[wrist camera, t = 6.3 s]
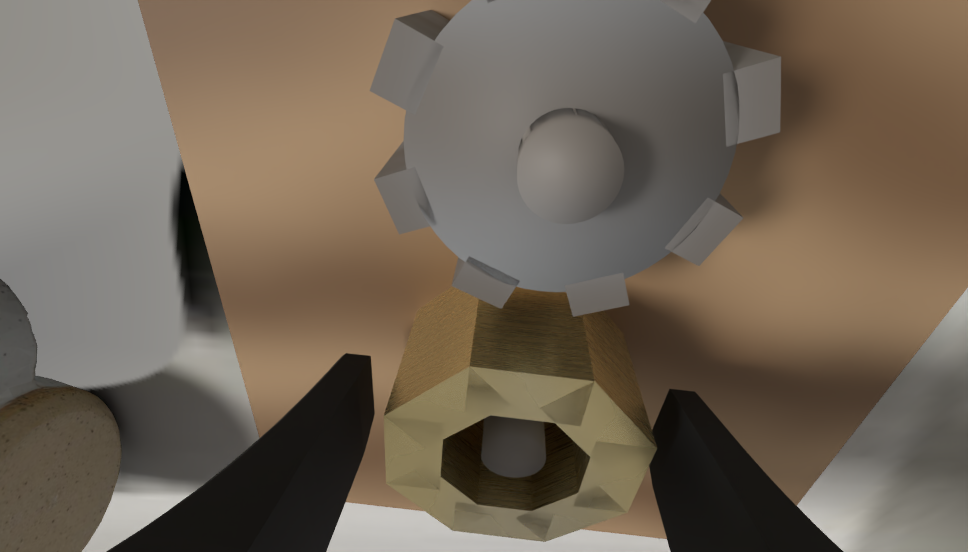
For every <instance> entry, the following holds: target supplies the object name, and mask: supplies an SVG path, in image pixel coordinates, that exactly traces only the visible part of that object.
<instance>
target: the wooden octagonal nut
mask: <svg viewBox="0 0 968 552" xmlns="http://www.w3.org/2000/svg"><path fill="white" fill-rule="evenodd" d="M490 415H492V416H500V417H509V418H517V419H525V420H534V421H542V422H544V428H545V448H546V462H545V464H544V466H543V467H542V469H541V470H539V471H538V472H536V473H535V474H532V475H530V476H526V477H519V478H512V477H505V476H501V475H498V474H496V473H494V472H492V471H490V470H489V469H488V468H487V467H486V466H485V465H484V464H483V462H482V459H481V450H482V439H483V427H484V418H486V417H488V416H490ZM384 440H385V466H386V484H387V485H389V486H390V487H392V488H393V489H394V490H396V491H397V492H399V493H400V494H402V495H403V496H404V497H406V498H407V499H409V500H410V501H411V502H413V503H414V504H416V505H417V506H419V507H420V508H421V509H423V510H424V511H426V512H427V513H428V514H430V515H431V516H433V517H434V518H436V519H437V520H438V521H440V522H441V523H443V524H444V525H445V526H447V527H448V528H450V529H451V530H453V531H461V532H469V533H477V534H485V535H494V536H502V537H510V538H518V539H527V540H535V541H543V542H546V541H548V540H551V539H554V538H557V537H560V536H563V535H565V534H568V533H571V532H574V531H577V530H580V529H583V528H585V527H588V526H591V525H594V524H597V523H600V522H602V521H605V520H608V519H611V518H614V517H617V516H620V515H622V514H625V513H628V510H629V508H630V506H631V504H632V502H633V500H634V497H635V495H636V493H637V491H638V489H639V487H640V484H641V482H642V480H643V478H644V476H645V474H646V471H647V469H648V467H649V465H650V463H651V461H652V459H653V456H654V454H655V452H656V450H657V446H656V443H655V439H654V436H653V433H652V429H651V426H650V422H649V419H648V416H647V412H646V409H645V405H644V402H643V399H642V395H641V392H640V388H639V385H638V381H637V378H636V375H635V371H634V368H633V364H632V361H631V358H630V354H629V351H628V347H627V344H626V341H625V337H624V334H623V333H622V332H621V330H620V329H619V328H618V327H617V326H616V324H615V323H614V322H613V321H612V320H611V318H610V317H609V316H608V315H607V314H606V313H605V311H604V310H603V311H599V312H594V313H589V314H584V315H579V316H574V317H573V315H572V311H571V308H570V304H569V300H568V297H567V293H566V292H545V291H536V290H530V289H524V288H520V287H516V288H515V289H514V291H513V292H512V294H511V295H510V297H509V298H508V300H507V301H506V303H505V304H504V306H503V307H502V309H500V308H498V307H496V306H494V305H491V304H489V303H487V302H485V301H483V300H481V299H478V298H476V297H474V296H472V295H470V294H468V293H465V292H463V291H461V290H459V289H457V288H455V287H451V288H450V289H448V290H447V291H445V292H444V293H442V294H441V295H439V296H438V297H436V298H435V299H433V300H432V301H430V302H429V303H428V304H426V305H425V306H423V307H422V308H420V309H419V310H418V311H417V314H416V317H415V320H414V323H413V326H412V329H411V332H410V335H409V339H408V342H407V345H406V348H405V351H404V354H403V357H402V360H401V363H400V366H399V370H398V373H397V376H396V379H395V382H394V385H393V388H392V391H391V394H390V397H389V401H388V404H387V407H386V410H385V413H384Z"/></svg>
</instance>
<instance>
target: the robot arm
mask: <svg viewBox="0 0 968 552" xmlns="http://www.w3.org/2000/svg"><path fill="white" fill-rule="evenodd" d="M374 415H375V409H374V395H373V380H372V365H371V356H368V355H359V354H349V353H346V354H344V355H343V356H341V358H340V359H339V360H338V361H337V362H336V363H335V364H334V365H333V366H332V367H331V368H330V370H329V371H328V372H327V373H326V374H325V375H324V376H323V377H322V378H321V379H320V380H319V381H318V382H317V383H316V384H315V385H314V386H313V388H312V389H311V390H310V391H309V392H308V393H307V394H306V395H305V396H304V397H303V398H302V399H301V400H300V401H299V402H298V403H297V404H296V405H295V406H294V407H293V408H292V409H291V410H289V411H288V412H287V413H286V414H285V415H284V416H283V417H282V418H281V419H280V420H279V421H278V422H277V423H276V424H275V425H274V426H273V427H272V428H271V429H269V430H268V431H267V432H266V433H265V434H264V435H263V436H262V437H260V438H259V439H258V440H257V441H256V442H255V443H254V444H253V445H252V446H250V447H249V448H248V449H247V450H246V451H245V452H244V453H242V454H241V455H240V456H239V457H238V458H236V459H235V460H234V461H233V462H232V463H230V464H229V465H228V466H227V467H226V468H224V469H223V470H222V471H221V472H219V473H218V474H217V475H216V476H214V477H213V478H212V479H210V480H209V481H208V482H207V483H205V484H204V485H203V486H201V487H200V488H199V489H197V490H196V491H195V492H193V493H192V494H191V495H189V496H188V497H186V498H185V499H184V500H182V501H181V502H180V503H178V504H177V505H175V506H174V507H173V508H171V509H170V510H169V511H167V512H166V513H164V514H163V515H162V516H160V517H159V518H157V519H156V520H154V521H153V522H151V523H150V524H149V525H147V526H146V527H144V528H143V529H141V530H140V531H138V532H137V533H135V534H133V535H132V536H130V537H129V538H127V539H126V540H124V541H122V542H121V543H119V544H118V545H116V546H115V547H113V548H111V549H110V550H108V551H107V552H326V551H327V548H328V545H329V542H330V540H331V537H332V535H333V532H334V530H335V527H336V525H337V522H338V520H339V517H340V515H341V512H342V509H343V507H344V504H345V502H346V499H347V497H348V494H349V492H350V489H351V487H352V484H353V481H354V479H355V476H356V474H357V471H358V469H359V466H360V463H361V461H362V458H363V455H364V452H365V449H366V445H367V442H368V438H369V434H370V430H371V427H372V423H373V419H374ZM652 433H653V436H654V439H655V443H656V446H657V450H656V452H655V454H654V456H653V459H652V461H651V463H650V465H649V468H650V474H651V480H652V486H653V490H654V494H655V498H656V501H657V505H658V508H659V512H660V516H661V519H662V523H663V526H664V530H665V533H666V537H667V540H668V544H669V547H670V551H671V552H843V551H842V550H841V549H840V548H839V547H838V546H837V545H836V544H835V543H833V542H832V541H831V540H830V539H829V538H828V537H827V536H826V535H825V534H824V533H823V532H822V531H821V530H820V529H819V528H818V527H817V526H816V525H815V524H814V523H813V522H812V521H811V520H810V519H809V518H808V517H807V516H806V515H805V514H804V513H803V512H802V511H801V510H800V509H799V508H798V507H797V506H796V505H795V504H794V503H793V502H792V501H791V500H790V499H789V498H788V497H787V496H786V495H785V493H784V492H783V491H782V490H781V489H780V488H779V487H778V486H777V485H776V484H775V483H774V482H773V481H772V479H771V478H770V477H769V476H768V475H767V474H766V473H765V472H764V471H763V470H762V468H761V467H760V466H759V465H758V464H757V463H756V462H755V461H754V459H753V458H752V457H751V456H750V455H749V454H748V453H747V451H746V450H745V449H744V448H743V447H742V446H741V445H740V443H739V442H738V441H737V440H736V439H735V438H734V436H733V435H732V434H731V433H730V432H729V431H728V429H727V428H726V427H725V426H724V425H723V423H722V422H721V421H720V420H719V419H718V418H717V416H716V415H715V414H714V413H713V412H712V410H711V409H710V408H709V407H708V406H707V405H706V403H705V402H704V401H703V400H702V399H701V398H700V397H699V395H698V394H697V393H696V392H695V391H686V390H677V389H669V391H668V393H667V396H666V398H665V400H664V403H663V405H662V408H661V410H660V412H659V415H658V417H657V419H656V422H655V424H654V427H653V429H652Z"/></svg>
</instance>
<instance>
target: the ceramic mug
mask: <svg viewBox="0 0 968 552" xmlns="http://www.w3.org/2000/svg"><path fill="white" fill-rule="evenodd" d="M27 314H28V313H27V311H26V310H25V308H24V306H23V305H22V303H21V302H20V301H19V299H18V298H17V296H16V295H15V294H14V293H13V291H12V290H11V289H10V287H9V286H8V285H6V284H5V282H3V281H2V280H1V279H0V552H82V550H83V549H84V548H85V546H86V545H87V543H88V542H89V540H90V539H91V537H92V536H93V534H94V532H95V531H96V529H97V527H98V526H99V524H100V522H101V521H102V518H103V516H104V514H105V512H106V510H107V507H108V505H109V503H110V501H111V498H112V495H113V491H114V488H115V485H116V482H117V479H118V475H119V469H120V463H121V452H122V449H121V442H120V434H119V428H118V426H117V423H116V421H115V418H114V416H113V414H112V412H111V411H110V410H109V408H108V407H107V406H106V405H105V403H104V402H103V401H102V400H101V399H100V398H99V397H97V396H96V395H94V394H92V393H90V392H88V391H85V390H82V389H79V388H76V387H73V386H70V385H67V384H64V383H61V382H59V381H55V380H52V379H48V378H44V377H39V376H35V367H36V362H37V343H36V340H35V337H34V334H33V332H32V329H31V324H30V321H29V319H28V317H27Z"/></svg>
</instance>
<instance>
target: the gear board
mask: <svg viewBox="0 0 968 552" xmlns="http://www.w3.org/2000/svg"><path fill="white" fill-rule="evenodd" d="M138 2H139V6H140V10H141V13H142V17H143V21H144V24H145V27H146V31H147V35H148V38H149V42H150V46H151V49H152V53H153V56H154V60H155V64H156V67H157V71H158V74H159V78H160V81H161V85H162V89H163V92H164V96H165V100H166V103H167V107H168V110H169V114H170V117H171V121H172V125H173V128H174V132H175V135H176V139H177V143H178V146H179V150H180V153H181V157H182V161H183V164H184V168H185V171H186V175H187V179H188V182H189V186H190V189H191V193H192V197H193V200H194V204H195V207H196V211H197V215H198V218H199V222H200V225H201V229H202V233H203V236H204V240H205V243H206V247H207V250H208V254H209V258H210V261H211V265H212V268H213V272H214V276H215V279H216V283H217V286H218V290H219V294H220V297H221V301H222V304H223V308H224V312H225V315H226V319H227V322H228V326H229V330H230V333H231V337H232V340H233V344H234V347H235V351H236V355H237V358H238V362H239V365H240V369H241V373H242V376H243V380H244V383H245V387H246V391H247V394H248V398H249V401H250V405H251V409H252V412H253V416H254V419H255V423H256V427H257V430H258V434H259V437H262V436H263V435H264V434H265V433H266V432H267V431H268V430H269V429H271V428H272V427H273V426H274V425H275V424H276V423H277V422H278V421H279V420H280V419H281V418H282V417H283V416H284V415H285V414H286V413H287V412H288V411H289V410H291V409H292V408H293V407H294V406H295V405H296V404H297V403H298V402H299V401H300V400H301V399H302V398H303V397H304V396H305V395H306V394H307V393H308V392H309V391H310V390H311V389H312V388H313V386H314V385H315V384H316V383H317V382H318V381H319V380H320V379H321V378H322V377H323V376H324V375H325V374H326V373H327V372H328V371H329V370H330V368H331V367H332V366H333V365H334V364H335V363H336V362H337V361H338V360H339V359H340V358H341V356H343V355H344V354H346V353H349V354H359V355H368V356H371V365H372V380H373V395H374V409H375V415H374V419H373V423H372V427H371V430H370V434H369V438H368V442H367V445H366V449H365V452H364V455H363V458H362V461H361V463H360V466H359V469H358V471H357V474H356V476H355V479H354V481H353V484H352V487H351V489H350V492H349V494H348V497H347V499H346V502H350V503H358V504H367V505H376V506H385V507H393V508H402V509H411V510H419V511H424V510H423V509H421V508H420V507H419V506H417V505H416V504H414V503H413V502H411V501H410V500H409V499H407V498H406V497H404V496H403V495H402V494H400V493H399V492H397V491H396V490H394V489H393V488H392V487H390V486H389V485H387V484H386V466H385V440H384V413H385V410H386V407H387V404H388V401H389V397H390V394H391V391H392V388H393V385H394V382H395V379H396V376H397V373H398V370H399V366H400V363H401V360H402V357H403V354H404V351H405V348H406V345H407V342H408V339H409V335H410V332H411V329H412V326H413V323H414V320H415V317H416V314H417V311H418V310H419V309H420V308H422V307H423V306H425V305H426V304H428V303H429V302H430V301H432V300H433V299H435V298H436V297H438V296H439V295H441V294H442V293H444V292H445V291H447V290H448V289H450V288H451V287H455V288H457V289H459V290H461V291H463V292H465V293H468V294H470V295H472V296H474V297H476V298H478V299H481V300H483V301H485V302H487V303H489V304H491V305H494V306H496V307H498V308H500V309H502V307H503V306H504V304H505V303H506V301H507V300H508V298H509V297H510V295H511V294H512V292H513V291H514V289H515V288H516V287H520V288H524V289H530V290H536V291H545V292H566V293H567V297H568V300H569V304H570V308H571V311H572V315H573V317H574V316H579V315H584V314H589V313H594V312H599V311H603V310H604V311H605V313H606V314H607V315H608V316H609V317H610V318H611V320H612V321H613V322H614V323H615V324H616V326H617V327H618V328H619V329H620V330H621V332H622V333H623V334H624V337H625V341H626V344H627V347H628V351H629V354H630V358H631V361H632V364H633V368H634V371H635V375H636V378H637V381H638V385H639V388H640V392H641V395H642V399H643V402H644V405H645V409H646V412H647V416H648V419H649V422H650V426H651V429H653V427H654V424H655V422H656V419H657V417H658V415H659V412H660V410H661V408H662V405H663V403H664V400H665V398H666V396H667V393H668V391H669V389H677V390H686V391H695V392H696V393H697V394H698V395H699V397H700V398H701V399H702V400H703V401H704V402H705V403H706V405H707V406H708V407H709V408H710V409H711V410H712V412H713V413H714V414H715V415H716V416H717V418H718V419H719V420H720V421H721V422H722V423H723V425H724V426H725V427H726V428H727V429H728V431H729V432H730V433H731V434H732V435H733V436H734V438H735V439H736V440H737V441H738V442H739V443H740V445H741V446H742V447H743V448H744V449H745V450H746V451H747V453H748V454H749V455H750V456H751V457H752V458H753V459H754V461H755V462H756V463H757V464H758V465H759V466H760V467H761V468H762V470H763V471H764V472H765V473H766V474H767V475H768V476H769V477H770V478H771V479H772V481H773V482H774V483H775V484H776V485H777V486H778V487H779V488H780V489H781V490H782V491H783V492H784V493H785V495H786V496H787V497H788V498H789V499H790V500H791V501H792V502H793V503H794V504H795V505H796V506H797V504H798V503H799V502H800V500H801V499H802V498H803V497H804V495H805V494H806V493H807V491H808V490H809V489H810V488H811V486H812V485H813V484H814V483H815V481H816V480H817V479H818V477H819V476H820V475H821V474H822V472H823V471H824V470H825V469H826V467H827V466H828V465H829V463H830V462H831V461H832V460H833V458H834V457H835V456H836V454H837V453H838V452H839V451H840V449H841V448H842V447H843V446H844V444H845V443H846V442H847V440H848V439H849V438H850V437H851V435H852V434H853V433H854V432H855V430H856V429H857V428H858V426H859V425H860V424H861V423H862V421H863V420H864V419H865V418H866V416H867V415H868V414H869V412H870V411H871V410H872V409H873V407H874V406H875V405H876V403H877V402H878V401H879V400H880V398H881V397H882V396H883V395H884V393H885V392H886V391H887V389H888V388H889V387H890V386H891V384H892V383H893V382H894V381H895V379H896V378H897V377H898V375H899V374H900V373H901V372H902V370H903V369H904V368H905V366H906V365H907V364H908V363H909V361H910V360H911V359H912V358H913V356H914V355H915V354H916V352H917V351H918V350H919V349H920V347H921V346H922V345H923V344H924V342H925V341H926V340H927V338H928V337H929V336H930V335H931V333H932V332H933V331H934V330H935V328H936V327H937V326H938V324H939V323H940V322H941V321H942V319H943V318H944V317H945V315H946V314H947V313H948V312H949V310H950V309H951V308H952V307H953V305H954V304H955V303H956V301H957V300H958V299H959V298H960V296H961V295H962V294H963V293H964V291H965V290H966V289H967V287H968V0H138ZM481 459H482V462H483V464H484V465H485V466H486V467H487V468H488V469H489V470H490V471H492V472H494V473H496V474H498V475H501V476H505V477H512V478H519V477H526V476H530V475H532V474H535V473H536V472H538V471H539V470H541V469H542V467H543V466H544V464H545V462H546V448H545V428H544V422H542V421H534V420H525V419H517V418H509V417H500V416H492V415H490V416H488V417H486V418H484V427H483V439H482V450H481ZM583 529H585V530H593V531H602V532H611V533H619V534H628V535H637V536H645V537H654V538H663V539H667V537H666V533H665V530H664V526H663V523H662V519H661V516H660V512H659V508H658V505H657V501H656V498H655V494H654V490H653V486H652V480H651V474H650V468H649V467H648V469H647V471H646V474H645V476H644V478H643V480H642V482H641V484H640V487H639V489H638V491H637V493H636V495H635V497H634V500H633V502H632V504H631V506H630V508H629V510H628V513H625V514H622V515H620V516H617V517H614V518H611V519H608V520H605V521H602V522H600V523H597V524H594V525H591V526H588V527H585V528H583Z"/></svg>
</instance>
